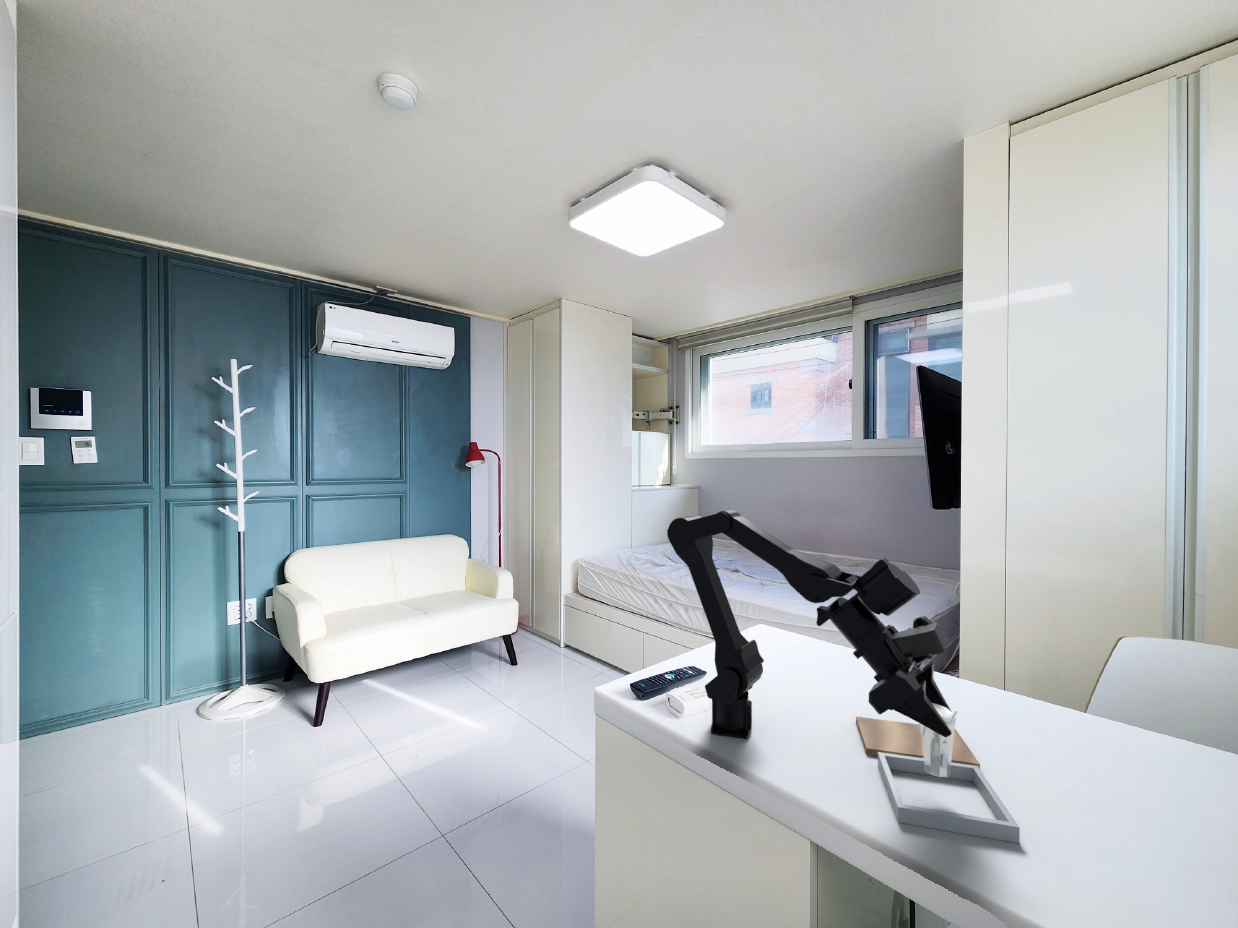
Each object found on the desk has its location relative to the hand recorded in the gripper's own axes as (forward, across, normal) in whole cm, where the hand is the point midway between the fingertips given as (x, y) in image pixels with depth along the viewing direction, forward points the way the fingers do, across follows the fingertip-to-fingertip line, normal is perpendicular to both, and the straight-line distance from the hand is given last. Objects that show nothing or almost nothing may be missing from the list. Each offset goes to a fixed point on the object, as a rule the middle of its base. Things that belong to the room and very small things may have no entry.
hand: (951, 728), depth 71 cm
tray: (+6, 0, +8) cm, 10 cm away
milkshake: (+4, 0, +6) cm, 7 cm away
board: (+3, +14, +12) cm, 19 cm away
